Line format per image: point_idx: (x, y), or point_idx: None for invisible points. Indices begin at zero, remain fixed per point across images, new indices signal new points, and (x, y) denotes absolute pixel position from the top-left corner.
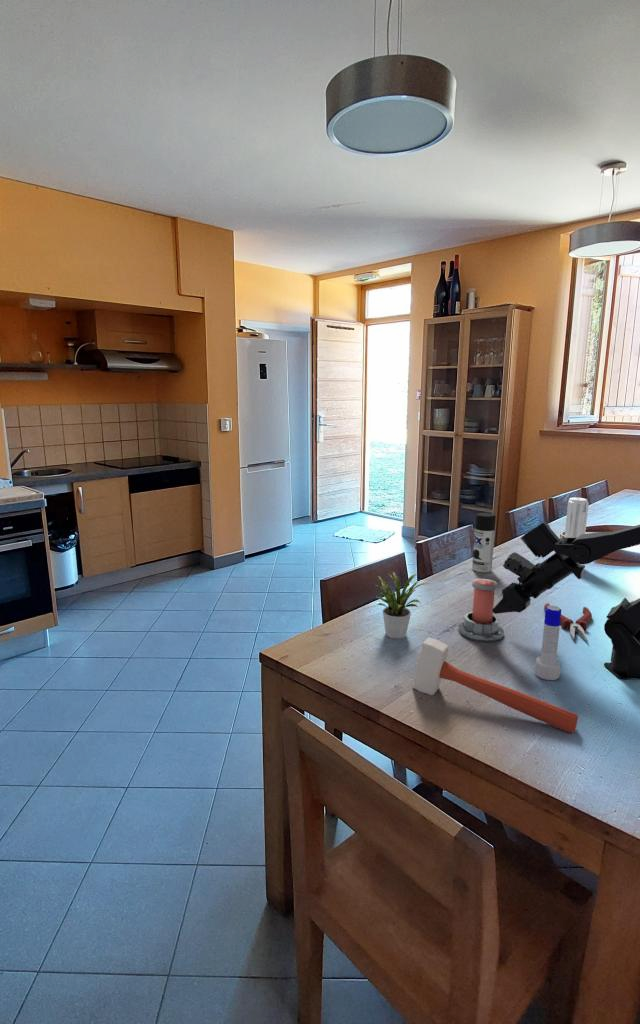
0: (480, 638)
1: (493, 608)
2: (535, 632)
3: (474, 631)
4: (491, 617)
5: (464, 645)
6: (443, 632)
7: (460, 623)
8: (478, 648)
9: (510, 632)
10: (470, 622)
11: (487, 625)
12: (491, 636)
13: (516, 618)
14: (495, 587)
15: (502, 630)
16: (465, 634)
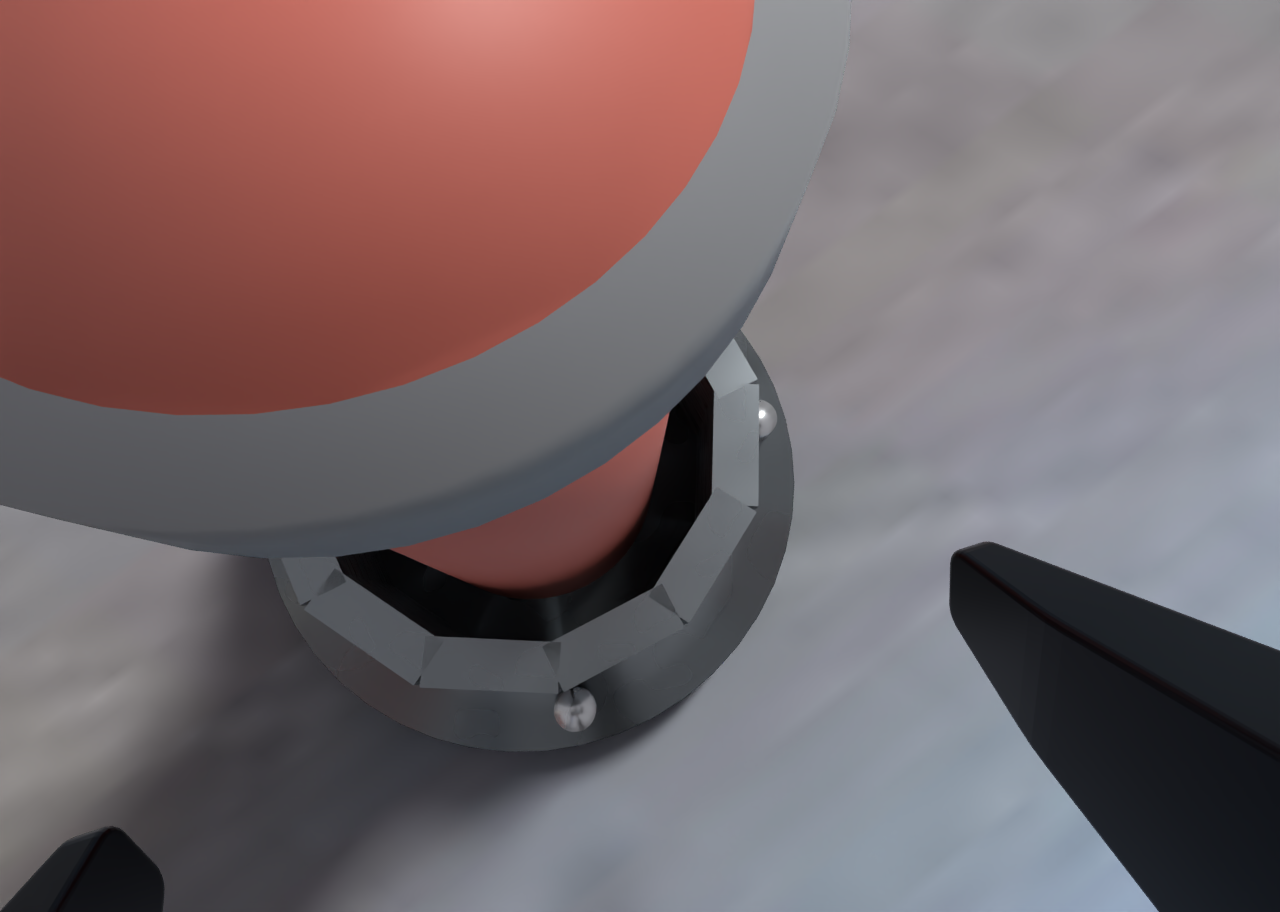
0: (306, 637)
1: (4, 908)
2: (1099, 870)
3: None
4: (525, 580)
5: (98, 595)
6: None
7: None
8: (149, 744)
9: (828, 683)
10: None
11: (363, 647)
12: (443, 693)
13: (1202, 475)
14: (326, 540)
15: (710, 657)
16: None
